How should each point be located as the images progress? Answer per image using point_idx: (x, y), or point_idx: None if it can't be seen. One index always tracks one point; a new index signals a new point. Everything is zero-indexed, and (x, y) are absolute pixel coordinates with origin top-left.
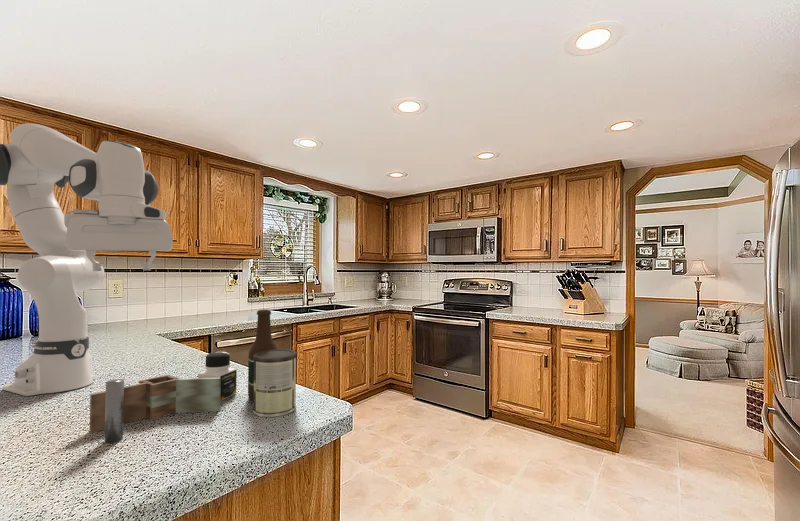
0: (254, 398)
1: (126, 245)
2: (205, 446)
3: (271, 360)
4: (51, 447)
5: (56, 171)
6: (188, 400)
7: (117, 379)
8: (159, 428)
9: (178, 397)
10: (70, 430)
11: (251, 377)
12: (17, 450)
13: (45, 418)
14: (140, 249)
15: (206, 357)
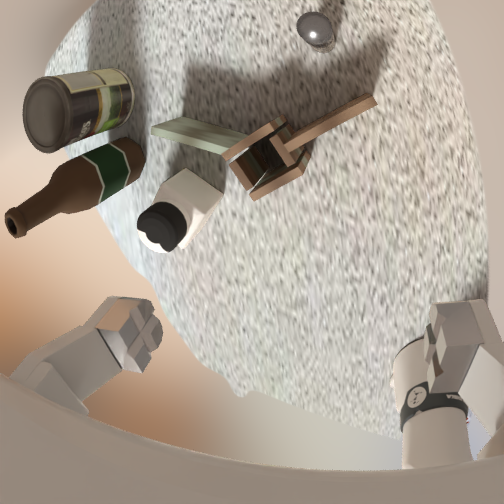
0: (118, 89)
1: (130, 489)
2: None
3: (49, 76)
4: (406, 57)
5: None
6: (221, 133)
7: (312, 39)
8: (262, 66)
9: (236, 139)
10: (401, 123)
11: (115, 156)
12: (447, 72)
13: (445, 211)
14: (51, 405)
15: (175, 225)
